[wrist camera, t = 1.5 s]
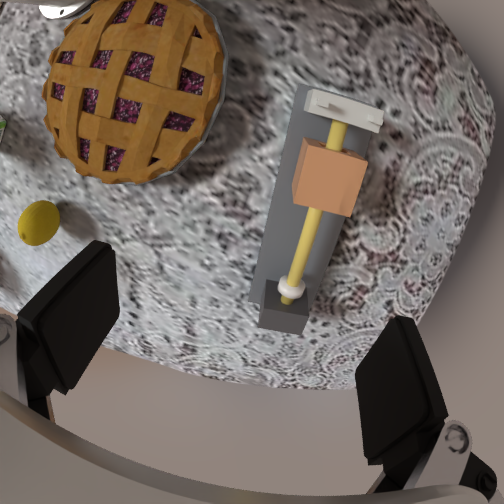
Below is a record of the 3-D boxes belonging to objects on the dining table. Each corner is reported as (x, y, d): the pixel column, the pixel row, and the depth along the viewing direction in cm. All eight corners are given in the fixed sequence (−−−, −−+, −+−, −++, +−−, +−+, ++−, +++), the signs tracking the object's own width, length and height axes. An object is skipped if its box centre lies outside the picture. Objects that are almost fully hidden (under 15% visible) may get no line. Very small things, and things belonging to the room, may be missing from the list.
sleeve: (303, 136, 25) (308, 144, 20) (353, 150, 25) (368, 162, 20) (291, 185, 27) (293, 203, 23) (339, 197, 27) (350, 217, 23)
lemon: (73, 202, 32) (35, 229, 25) (67, 234, 35) (34, 263, 28) (46, 185, 31) (8, 209, 24) (42, 216, 34) (8, 243, 27)
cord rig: (298, 83, 23) (303, 78, 17) (375, 107, 24) (402, 111, 18) (248, 297, 37) (242, 336, 31) (308, 309, 37) (311, 348, 31)
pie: (54, 160, 29) (30, 172, 25) (83, 1, 18) (58, -6, 14) (205, 197, 31) (192, 215, 26) (260, 5, 19) (255, -12, 15)
